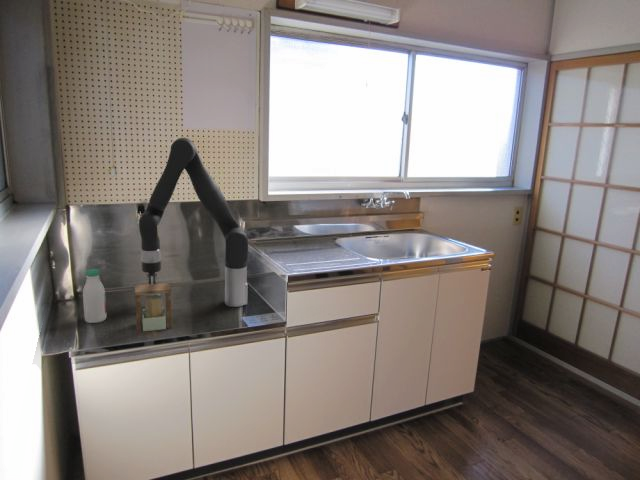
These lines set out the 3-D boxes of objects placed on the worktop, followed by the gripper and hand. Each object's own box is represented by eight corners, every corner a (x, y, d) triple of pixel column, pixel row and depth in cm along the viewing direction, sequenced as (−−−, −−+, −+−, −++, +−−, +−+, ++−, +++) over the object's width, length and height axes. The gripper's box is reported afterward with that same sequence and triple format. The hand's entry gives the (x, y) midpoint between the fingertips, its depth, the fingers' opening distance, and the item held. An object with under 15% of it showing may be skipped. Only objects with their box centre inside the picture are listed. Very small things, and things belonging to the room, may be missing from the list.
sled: (163, 307, 192) (162, 290, 190) (165, 329, 173) (165, 311, 171) (142, 309, 189) (141, 292, 187) (142, 331, 170) (142, 313, 168)
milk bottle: (103, 323, 175) (100, 274, 170) (81, 323, 174) (77, 273, 168) (109, 315, 182) (106, 267, 177) (88, 315, 181) (84, 267, 176)
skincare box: (144, 324, 176) (143, 295, 173) (155, 321, 179) (154, 292, 176) (153, 330, 172) (151, 300, 169) (163, 327, 175) (162, 297, 172)
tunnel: (170, 320, 181) (169, 283, 177) (171, 328, 175) (170, 289, 171) (136, 323, 176) (135, 285, 172) (136, 331, 170) (134, 292, 166)
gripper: (161, 264, 184) (162, 304, 188) (160, 254, 196) (161, 292, 200) (141, 265, 181) (143, 305, 186) (141, 255, 193) (143, 293, 198)
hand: (152, 298), depth 193 cm, fingers closed
